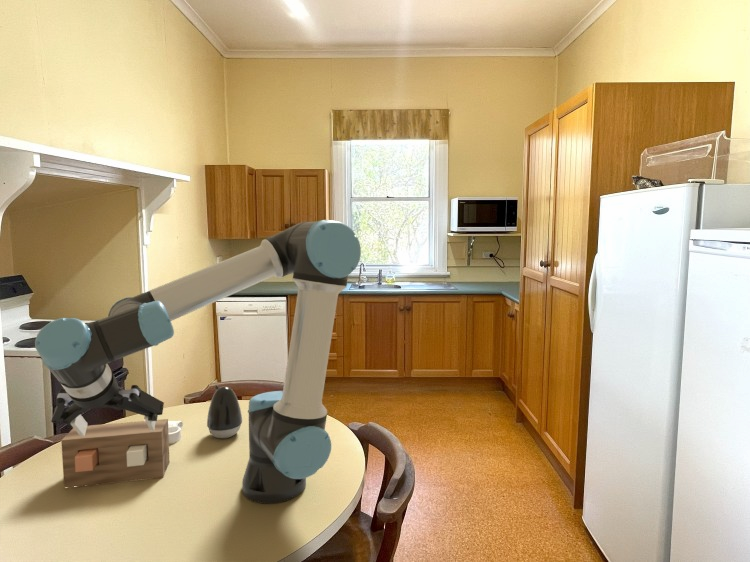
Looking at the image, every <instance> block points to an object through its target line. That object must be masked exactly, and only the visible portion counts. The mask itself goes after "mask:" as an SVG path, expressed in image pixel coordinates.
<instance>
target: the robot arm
mask: <svg viewBox="0 0 750 562" xmlns="http://www.w3.org/2000/svg"><path fill="white" fill-rule="evenodd" d="M361 248H362V247H361V243H360V240H359V237H358V236H357V234H356V233H355V231H354V230H353V229H352V228H351V227H349V225H347V224H346V223H343V222H341V221H337V220H332V219H331V220H330V219H323V220H317V221H302V222H298V223H297V224H294V225H293V226H290V227H288V228H286V229H284V230H282V231H280V232H278V233H276V234H274V235H272V236H270V237H269V236H268V237H267V238H265V239H262V240H261V242H260V245H259V246H257V247H255V248H254V247H253V248H252V249H249V250H247V251H245V252H242V253H239V254H236V255H234V256H232V257H229V258H227V259H224V260H222V261H220V262H217V263H215V264H212V265H210V266H207V267H205V268H202V269H199V270H196V271H195V272H192V273H190V274H187V275H184V276H182V277H179V278H178V279H175V280H173V281H172V280H171V281H170V282H168V283H165V284H163V285H162V284H161V285H159V286H157V287H154V288H152V289H150V290H149V291H145V292H143V293H139V294H137V295H136V296H131V297H124V298H121V299H119V300H117V301H116V302H115V303H114V304H113V305H112V306H111V308H110V309H109V312H108V315H107V317H103V318H101V319H97V320H95V321H90V322H88V323H87V322H86V323H85V322H84V321H82V320H81V319H79V318H75V317H70V318H69V317H61V318H58V319H54V320H52V321H51V322H48V323H47V324H46V325H44V326H42V328H41V329H40V330H39V332H38V333H37V335H36V337H35V340H34V347H35V349H36V352H37V353H38V355H39V356H40V359H42V363H43V365H44V366H46V368H47V369H48V370H49V371H50V372H51V374H52V375H53V376H54V377H55V379H57V381H58V383H59V384H60V385H61V386H62V389H59V391H58V393H57V397H56V400H55V404H56V406H55V409H54V411H53V414H52V418H51V419H50V422H51V423H52V424H57V423H59V422H60V421H61V422H62V423H63V424H66V425H67V426H68V427H69V428H72V429H73V428H74V429H75V430H76V431H77V433H78V434H79V435H80V436H85V433H86V429H87V426H88V422H87V421H86V420H85V418H84V417H83V416H82V414H83V413H84V414H85V413H87V412H88V411H89V410H92V409H94V410H95V409H103V408H105V409H108V408H109V409H112V410H113V409H114V410H116V411H121V410H124V411H128V412H132V413H135V414H137V415H141V416H143V417H144V421H146V423H147V425H148V427H149V429H150V431H153V430H154V429H155V423H156V421H157V420H158V416H162V415H163V411H164V405H165V402H164V401H162V400H160V399H158V398H156V397H155V396H153V395H151V394H149V393H148V392H146V391H144V390H142V389H141V388H140V386H139V385H137V384H132V385H131V388H130V389H129V388H127V389H123V388H122V387H120V386H119V384H118V380H117V379H116V377H115V374H114V373H113V371H112V370H111V368H110V366H109V363H112V362H115V361H117V360H120V359H123V358H125V357H127V356H128V357H129V356H130V355H133V354H136V353H138V352H141V351H144V350H146V349H149V348H151V347H156V346H158V345H159V344H161V343H163V342H166V341H167V340H170V339H172V338H173V337H174V335H175V329H174V326H173V324H172V321H175V320H176V319H179V318H181V317H183V316H186V315H188V314H190V313H193V312H195V311H198V310H200V309H202V308H204V307H206V306H209V305H211V304H213V303H215V302H218V301H220V300H223V299H225V298H227V297H230V296H232V295H235V294H236V293H239V292H240V291H243V290H245V289H247V288H250V287H252V286H255V285H257V284H258V283H261V282H264V281H266V280H269V279H271V278H273V277H275V278H277V279H282V278H284V277H286V276H288V275H289V276H290V275H293V276H292V281H293V282H294V284H296V286H297V288H298V289H297V296H296V303H295V310H294V316H293V323H292V329H291V336H290V343H289V349H288V356H287V363H286V371H285V375H284V382H283V390H275V391H274V390H273V391H267V392H263V393H259V394H256V395H254V396H252V397H251V398H250V399H249V402H248V410H247V413H248V443H249V444H248V445H249V448H248V449H249V456H248V457H249V459H248V461H247V464H246V468H245V471H244V474H243V478H242V486H241V487H242V489H241V490H242V495H243V496H244V497H245V498H246V499H248V500H249V501H251V502H255V503H259V504H278V503H283V502H286V501H290V500H292V499H294V498H296V497H297V496H298V495H301V493H302V492H303V491H304V490H305V487H306V485H307V479H308V478H310V477H311V476H313V475H315V474H317V472H318V471H319V470H320V469H322V468H323V467H324V466H325V465H326V463H327V462H328V460H329V457H330V454H331V451H332V440H331V438H330V435H329V433H328V432H327V430H326V423H327V419H328V409H327V408H326V407H325V405H324V404H323V396H324V391H325V390H324V389H325V383H326V382H325V381H326V378H327V377H326V376H327V371H328V369H327V368H328V363H329V357H330V349H331V342H332V337H333V330H334V326H335V325H334V324H335V316H336V310H337V304H338V298H339V294H340V293H341V292H342V291H344V290H345V289H346V288H347V284H348V278H349V275H351V274H352V272H353V271H354V270H356V268H357V267H358V265H359V263H360V260H361V255H362V253H361V252H362V249H361ZM71 401H73V404H72V405H71V406H68V405H69V403H71ZM65 408H66V409H65ZM64 410H65V411H64Z"/></svg>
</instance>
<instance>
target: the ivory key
mask: <svg viewBox="0 0 750 562" xmlns="http://www.w3.org/2000/svg"><path fill="white" fill-rule="evenodd" d="M147 457H148V444H138V445H131V446H130V448H129V449H128V451H127V467H130V466H139V465H144V463H145V461H146V459H147Z"/></svg>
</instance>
